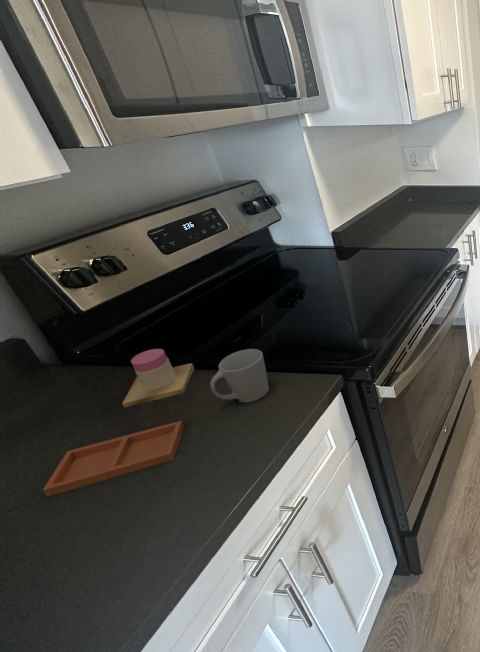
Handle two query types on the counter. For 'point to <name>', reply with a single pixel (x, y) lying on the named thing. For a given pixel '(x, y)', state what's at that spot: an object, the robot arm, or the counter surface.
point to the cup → (243, 376)
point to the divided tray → (115, 457)
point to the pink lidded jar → (153, 369)
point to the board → (176, 387)
